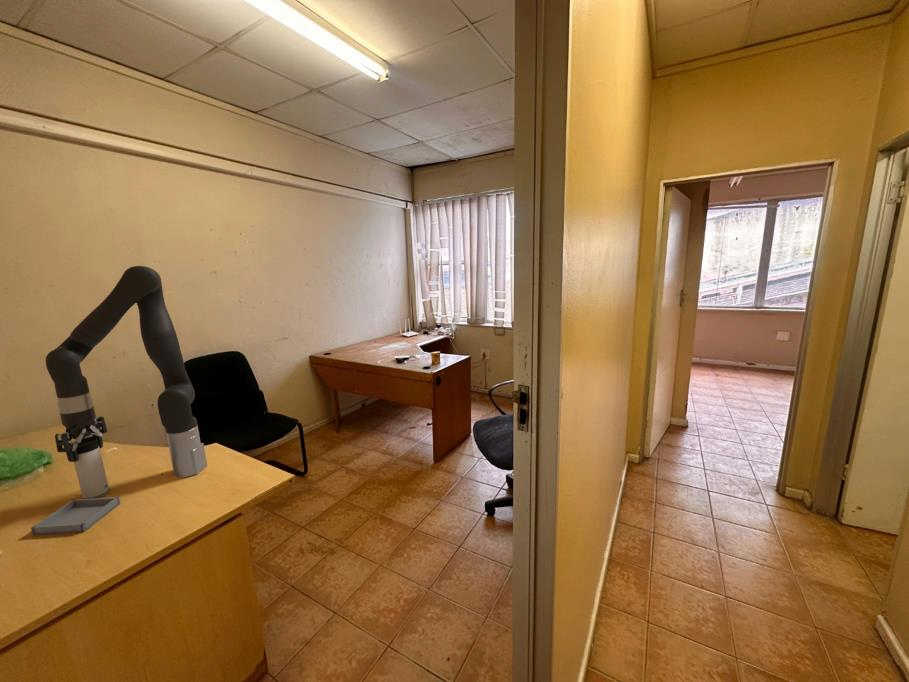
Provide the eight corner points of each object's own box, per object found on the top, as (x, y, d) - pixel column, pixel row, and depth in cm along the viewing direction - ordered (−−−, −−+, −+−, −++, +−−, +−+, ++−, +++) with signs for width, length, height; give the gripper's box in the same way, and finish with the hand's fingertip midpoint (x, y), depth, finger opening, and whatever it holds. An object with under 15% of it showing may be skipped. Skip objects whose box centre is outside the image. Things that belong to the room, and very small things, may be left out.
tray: (120, 503, 113) (118, 496, 113) (84, 532, 101) (82, 524, 101) (75, 506, 112) (73, 499, 112) (33, 535, 100) (30, 527, 100)
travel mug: (115, 490, 120) (102, 436, 116) (90, 502, 114) (76, 446, 110) (103, 487, 122) (91, 434, 118) (78, 498, 116) (64, 443, 112)
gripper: (67, 416, 105) (78, 465, 108) (109, 399, 119) (117, 443, 122) (39, 417, 104) (51, 466, 108) (85, 400, 118) (94, 444, 121)
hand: (87, 454), depth 115 cm, fingers open, 8 cm apart
